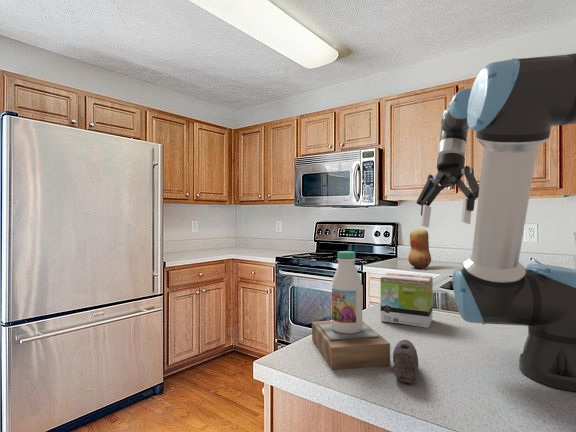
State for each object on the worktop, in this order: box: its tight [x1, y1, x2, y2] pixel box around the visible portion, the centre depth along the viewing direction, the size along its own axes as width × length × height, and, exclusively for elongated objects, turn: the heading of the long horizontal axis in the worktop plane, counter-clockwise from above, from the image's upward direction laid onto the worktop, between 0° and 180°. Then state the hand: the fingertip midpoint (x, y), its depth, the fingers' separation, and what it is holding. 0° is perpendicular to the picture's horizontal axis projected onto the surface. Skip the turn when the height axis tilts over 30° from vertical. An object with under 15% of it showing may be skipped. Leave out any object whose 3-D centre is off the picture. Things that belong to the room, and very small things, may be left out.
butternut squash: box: [408, 228, 432, 269], centre depth 227 cm, size 14×13×25 cm
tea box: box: [379, 272, 434, 329], centre depth 117 cm, size 15×10×15 cm
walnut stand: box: [311, 320, 391, 371], centre depth 92 cm, size 20×14×5 cm
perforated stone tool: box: [392, 339, 419, 385], centre depth 79 cm, size 15×5×7 cm, turn 161°
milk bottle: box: [331, 250, 363, 334], centre depth 92 cm, size 8×8×20 cm
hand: (444, 224), depth 103 cm, fingers open, 13 cm apart
